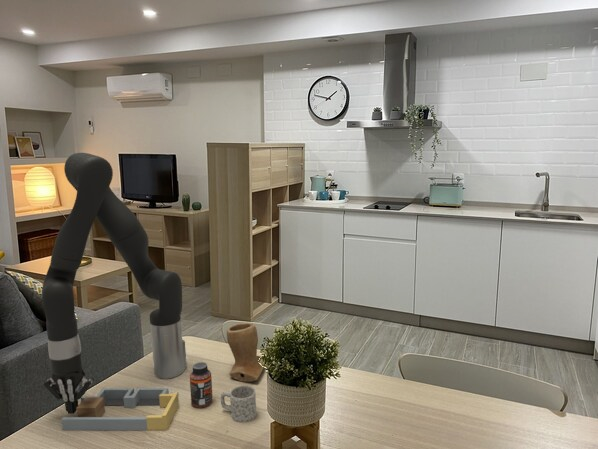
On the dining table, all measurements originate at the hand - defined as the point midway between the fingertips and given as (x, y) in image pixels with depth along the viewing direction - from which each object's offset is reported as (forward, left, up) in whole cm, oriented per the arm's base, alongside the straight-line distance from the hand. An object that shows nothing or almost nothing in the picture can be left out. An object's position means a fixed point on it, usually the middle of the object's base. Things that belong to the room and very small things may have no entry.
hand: (72, 412), depth 124 cm
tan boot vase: (-44, +22, -2) cm, 49 cm away
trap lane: (-8, +8, -1) cm, 12 cm away
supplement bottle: (-24, +24, -2) cm, 34 cm away
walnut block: (-3, +4, -2) cm, 5 cm away
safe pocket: (-14, +20, -1) cm, 25 cm away
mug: (-26, +36, -2) cm, 44 cm away
